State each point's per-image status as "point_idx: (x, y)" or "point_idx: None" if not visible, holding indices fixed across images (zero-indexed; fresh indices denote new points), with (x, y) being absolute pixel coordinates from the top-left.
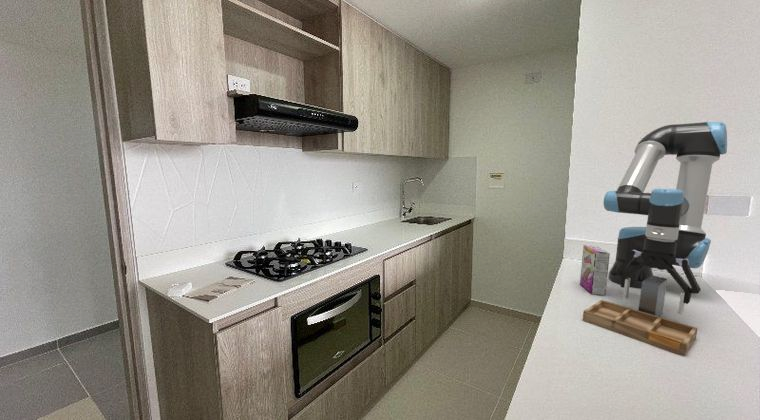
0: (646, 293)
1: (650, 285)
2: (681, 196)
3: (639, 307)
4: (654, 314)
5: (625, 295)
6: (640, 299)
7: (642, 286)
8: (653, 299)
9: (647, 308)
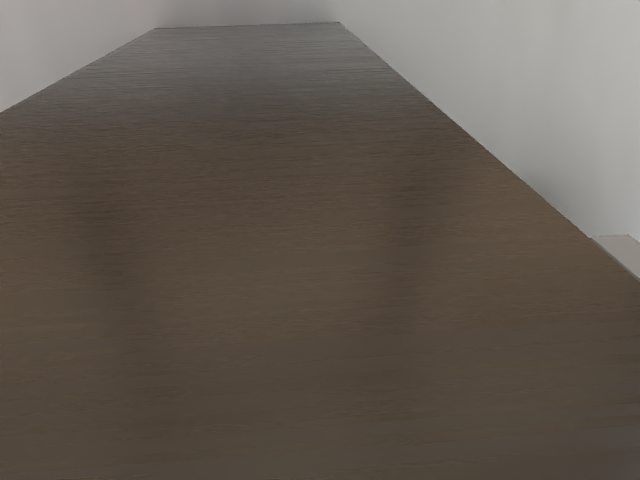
0: (284, 138)
1: (71, 423)
2: None
3: (353, 44)
4: (130, 47)
5: (633, 264)
6: (385, 77)
7: (542, 248)
8: (89, 102)
9: (230, 49)
